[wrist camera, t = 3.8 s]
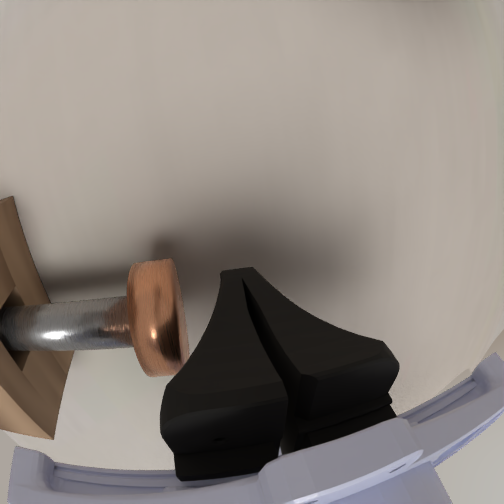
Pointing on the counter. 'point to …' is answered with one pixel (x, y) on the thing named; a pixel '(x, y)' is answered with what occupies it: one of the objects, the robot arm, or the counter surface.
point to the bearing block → (26, 362)
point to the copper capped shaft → (111, 321)
